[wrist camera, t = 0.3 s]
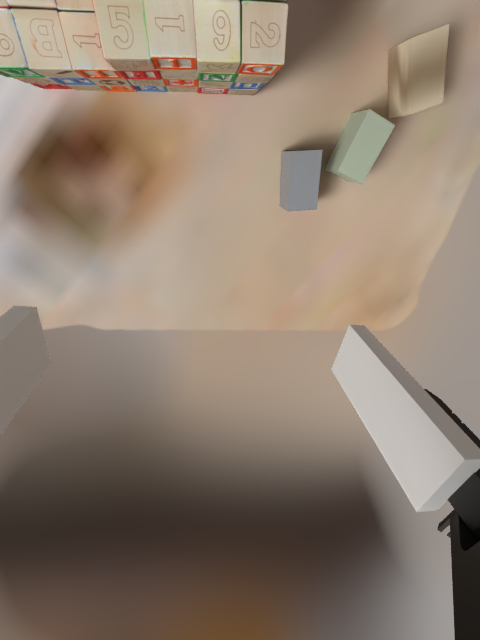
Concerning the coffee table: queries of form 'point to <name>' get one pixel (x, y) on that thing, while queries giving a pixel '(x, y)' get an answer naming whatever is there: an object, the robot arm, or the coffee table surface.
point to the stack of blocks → (144, 44)
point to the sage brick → (359, 146)
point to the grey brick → (300, 179)
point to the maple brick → (417, 73)
